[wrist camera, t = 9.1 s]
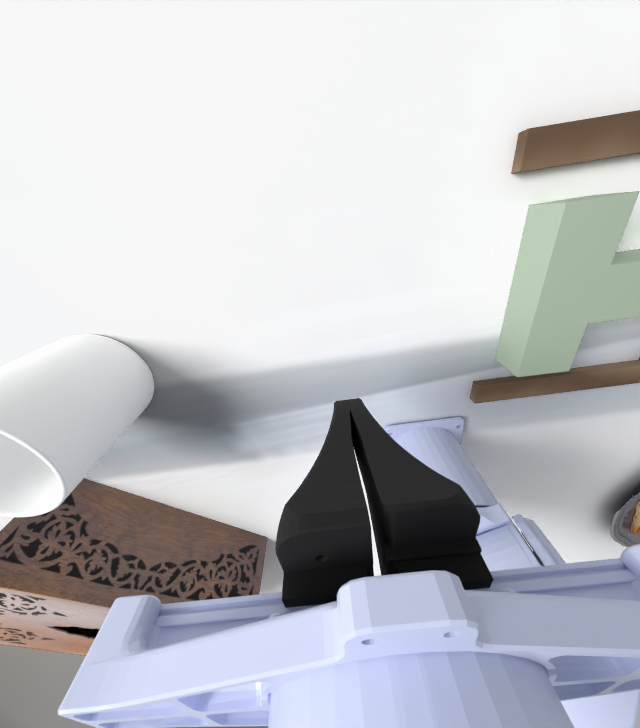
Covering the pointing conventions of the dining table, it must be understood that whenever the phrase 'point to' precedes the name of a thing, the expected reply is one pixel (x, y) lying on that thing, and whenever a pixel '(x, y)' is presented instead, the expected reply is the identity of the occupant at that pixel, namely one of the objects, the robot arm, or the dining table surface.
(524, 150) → the bracket
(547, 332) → the t block
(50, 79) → the dining table surface
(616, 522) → the food plate
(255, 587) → the tissue box cover
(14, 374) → the cup
